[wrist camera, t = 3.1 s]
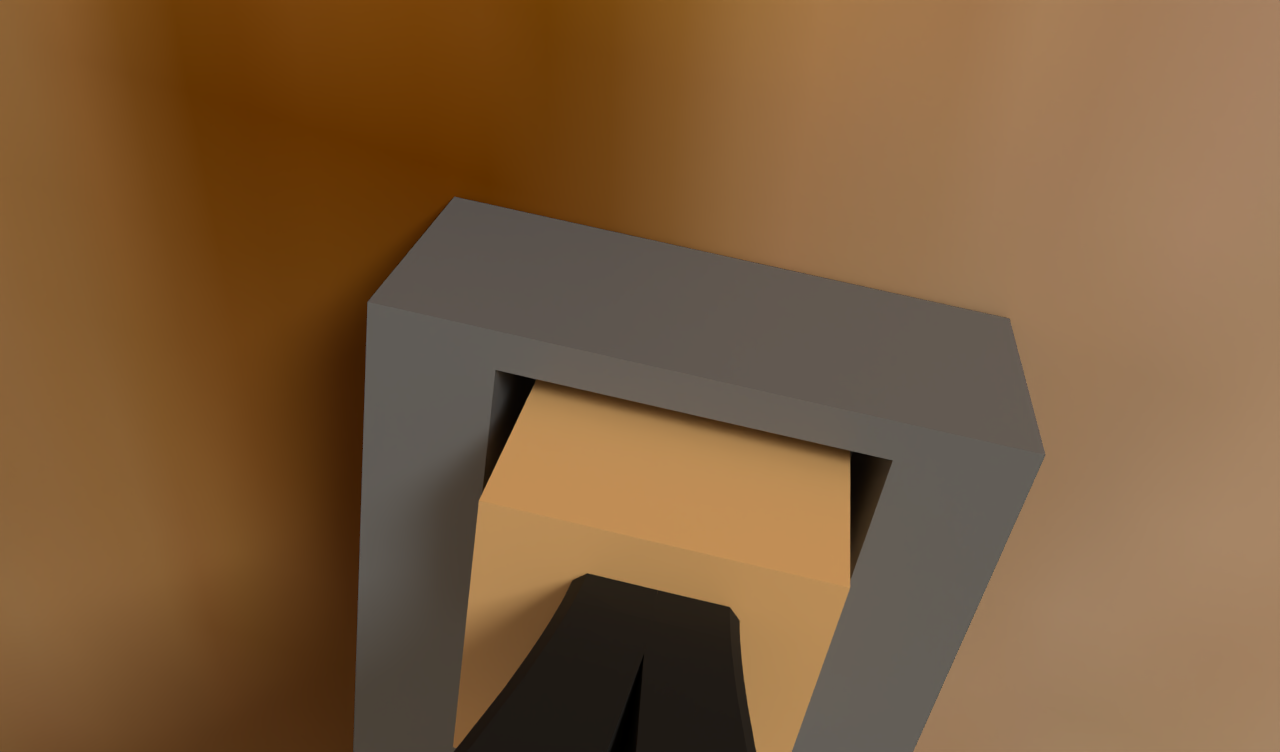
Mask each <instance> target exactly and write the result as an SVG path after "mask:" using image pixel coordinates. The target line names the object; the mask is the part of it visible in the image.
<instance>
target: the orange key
mask: <svg viewBox="0 0 1280 752" xmlns="http://www.w3.org/2000/svg"><path fill="white" fill-rule="evenodd" d="M587 573H589V574H593V575H597V576H601V577H605V578H610V579H614V580H618V581H622V582H626V583H631V584H635V585H639V586H643V587H647V588H652V589H656V590H660V591H664V592H668V593H673V594H677V595H681V596H685V597H690V598H694V599H698V600H703V601H707V602H711V603H715V604H720V605H724V606H728V607H730V608H731V609H732V611H733V612H734V613H735V615H736V616H737V617H738V619H739V620H740V644H741V656H742V666H743V675H744V683H745V689H746V696H747V703H748V709H749V715H750V720H751V726H752V731H753V737H754V742H755V748H756V752H792V750H793V747H794V744H795V741H796V738H797V736H798V733H799V730H800V727H801V724H802V722H803V719H804V716H805V713H806V710H807V708H808V705H809V702H810V699H811V696H812V694H813V691H814V688H815V685H816V682H817V680H818V677H819V674H820V671H821V668H822V666H823V663H824V660H825V657H826V654H827V652H828V649H829V646H830V643H831V640H832V637H833V635H834V632H835V629H836V626H837V623H838V621H839V618H840V615H841V612H842V609H843V607H844V604H845V601H846V598H847V595H848V593H849V590H850V451H849V450H845V449H840V448H836V447H832V446H827V445H823V444H818V443H814V442H810V441H805V440H801V439H796V438H792V437H788V436H783V435H779V434H774V433H770V432H766V431H761V430H757V429H753V428H748V427H744V426H739V425H735V424H731V423H726V422H722V421H717V420H713V419H709V418H704V417H700V416H696V415H691V414H687V413H682V412H678V411H674V410H669V409H665V408H660V407H656V406H652V405H647V404H643V403H639V402H634V401H630V400H625V399H621V398H617V397H612V396H608V395H603V394H599V393H595V392H590V391H586V390H581V389H577V388H573V387H568V386H564V385H560V384H555V383H551V382H546V381H542V380H538V379H536V381H535V384H534V386H533V388H532V390H531V392H530V394H529V396H528V398H527V400H526V402H525V405H524V407H523V409H522V411H521V413H520V415H519V417H518V419H517V421H516V424H515V426H514V428H513V430H512V432H511V434H510V436H509V438H508V440H507V443H506V445H505V447H504V449H503V451H502V453H501V455H500V457H499V459H498V461H497V464H496V466H495V468H494V470H493V472H492V474H491V476H490V478H489V480H488V483H487V485H486V487H485V489H484V491H483V493H482V495H481V497H480V499H479V504H478V514H477V523H476V533H475V542H474V552H473V561H472V571H471V580H470V590H469V599H468V609H467V618H466V628H465V637H464V647H463V656H462V666H461V675H460V685H459V694H458V704H457V713H456V723H455V732H454V742H453V747H454V748H457V747H458V746H459V744H460V743H461V742H462V741H463V739H464V738H465V737H466V735H467V734H468V733H469V732H470V730H471V729H472V728H473V727H474V725H475V724H476V723H477V722H478V720H479V719H480V718H481V716H482V715H483V714H484V713H485V711H486V710H487V709H488V708H489V706H490V705H491V704H492V703H493V701H494V700H495V699H496V698H497V696H498V695H499V694H500V692H501V691H502V690H503V689H504V687H505V686H506V685H507V683H508V682H509V680H510V679H511V678H512V676H513V675H514V673H515V672H516V671H517V669H518V668H519V666H520V665H521V664H522V662H523V661H524V659H525V658H526V657H527V655H528V654H529V652H530V651H531V649H532V648H533V646H534V645H535V644H536V642H537V641H538V639H539V638H540V636H541V635H542V633H543V631H544V630H545V628H546V627H547V625H548V624H549V622H550V620H551V619H552V617H553V615H554V614H555V612H556V610H557V609H558V607H559V605H560V604H561V602H562V600H563V598H564V596H565V594H566V592H567V590H568V588H569V586H570V584H571V582H572V580H574V579H576V578H578V577H580V576H583V575H585V574H587Z"/></svg>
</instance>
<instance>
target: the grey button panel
mask: <svg viewBox="0 0 1280 752" xmlns="http://www.w3.org/2000/svg"><path fill="white" fill-rule="evenodd" d="M536 379H538V380H542V381H546V382H551V383H555V384H560V385H564V386H568V387H573V388H577V389H581V390H586V391H590V392H595V393H599V394H603V395H608V396H612V397H617V398H621V399H625V400H630V401H634V402H639V403H643V404H647V405H652V406H656V407H660V408H665V409H669V410H674V411H678V412H682V413H687V414H691V415H696V416H700V417H704V418H709V419H713V420H717V421H722V422H726V423H731V424H735V425H739V426H744V427H748V428H753V429H757V430H761V431H766V432H770V433H774V434H779V435H783V436H788V437H792V438H796V439H801V440H805V441H810V442H814V443H818V444H823V445H827V446H832V447H836V448H840V449H845V450H849V451H850V590H849V593H848V595H847V598H846V601H845V604H844V607H843V609H842V612H841V615H840V618H839V621H838V623H837V626H836V629H835V632H834V635H833V637H832V640H831V643H830V646H829V649H828V652H827V654H826V657H825V660H824V663H823V666H822V668H821V671H820V674H819V677H818V680H817V682H816V685H815V688H814V691H813V694H812V696H811V699H810V702H809V705H808V708H807V710H806V713H805V716H804V719H803V722H802V724H801V727H800V730H799V733H798V736H797V738H796V741H795V744H794V747H793V750H792V752H913V751H914V748H915V746H916V744H917V742H918V739H919V737H920V735H921V733H922V730H923V728H924V726H925V724H926V721H927V719H928V717H929V715H930V712H931V710H932V708H933V706H934V704H935V701H936V699H937V697H938V695H939V692H940V690H941V688H942V686H943V683H944V681H945V679H946V677H947V674H948V672H949V670H950V668H951V665H952V663H953V661H954V659H955V656H956V654H957V652H958V650H959V647H960V645H961V643H962V641H963V639H964V636H965V634H966V632H967V630H968V627H969V625H970V623H971V621H972V618H973V616H974V614H975V612H976V609H977V607H978V605H979V603H980V600H981V598H982V596H983V594H984V591H985V589H986V587H987V585H988V582H989V580H990V578H991V576H992V574H993V571H994V569H995V567H996V565H997V562H998V560H999V558H1000V556H1001V553H1002V551H1003V549H1004V547H1005V544H1006V542H1007V540H1008V538H1009V535H1010V533H1011V531H1012V529H1013V526H1014V524H1015V522H1016V520H1017V517H1018V515H1019V513H1020V511H1021V509H1022V506H1023V504H1024V502H1025V500H1026V497H1027V495H1028V493H1029V491H1030V488H1031V486H1032V484H1033V482H1034V479H1035V477H1036V475H1037V473H1038V470H1039V468H1040V466H1041V464H1042V461H1043V459H1044V457H1045V452H1044V448H1043V444H1042V440H1041V436H1040V433H1039V429H1038V425H1037V421H1036V417H1035V414H1034V410H1033V406H1032V402H1031V398H1030V395H1029V391H1028V387H1027V383H1026V379H1025V376H1024V372H1023V368H1022V364H1021V361H1020V357H1019V353H1018V349H1017V345H1016V342H1015V338H1014V334H1013V330H1012V326H1011V323H1010V319H1009V318H1004V317H1000V316H995V315H990V314H986V313H981V312H977V311H972V310H968V309H963V308H959V307H954V306H949V305H945V304H940V303H936V302H931V301H927V300H922V299H918V298H913V297H908V296H904V295H899V294H895V293H890V292H886V291H881V290H877V289H872V288H867V287H863V286H858V285H854V284H849V283H845V282H840V281H836V280H831V279H826V278H822V277H817V276H813V275H808V274H804V273H799V272H795V271H790V270H785V269H781V268H776V267H772V266H767V265H763V264H758V263H754V262H749V261H744V260H740V259H735V258H731V257H726V256H722V255H717V254H713V253H708V252H703V251H699V250H694V249H690V248H685V247H681V246H676V245H672V244H667V243H662V242H658V241H653V240H649V239H644V238H640V237H635V236H631V235H626V234H621V233H617V232H612V231H608V230H603V229H599V228H594V227H590V226H585V225H580V224H576V223H571V222H567V221H562V220H558V219H553V218H549V217H544V216H540V215H535V214H530V213H526V212H521V211H517V210H512V209H508V208H503V207H499V206H494V205H489V204H485V203H480V202H476V201H471V200H467V199H462V198H458V197H454V198H453V199H452V200H451V201H450V203H449V204H448V205H447V206H446V207H445V209H444V210H443V211H442V212H441V214H440V215H439V216H438V217H437V218H436V220H435V221H434V222H433V223H432V224H431V226H430V227H429V228H428V229H427V230H426V232H425V233H424V234H423V235H422V237H421V238H420V239H419V240H418V241H417V243H416V244H415V245H414V246H413V247H412V249H411V250H410V251H409V252H408V253H407V255H406V256H405V257H404V258H403V260H402V261H401V262H400V263H399V264H398V266H397V267H396V268H395V269H394V270H393V272H392V273H391V274H390V275H389V276H388V278H387V279H386V280H385V281H384V283H383V284H382V285H381V286H380V287H379V289H378V290H377V291H376V292H375V293H374V295H373V296H372V297H371V298H370V299H369V301H368V304H367V335H366V366H365V398H364V429H363V461H362V492H361V524H360V555H359V586H358V618H357V649H356V681H355V712H354V743H353V752H454V751H455V749H456V748H454V747H453V742H454V732H455V723H456V713H457V704H458V694H459V685H460V675H461V666H462V656H463V647H464V637H465V628H466V618H467V609H468V599H469V590H470V580H471V571H472V561H473V552H474V542H475V533H476V523H477V514H478V504H479V499H480V497H481V495H482V493H483V491H484V489H485V487H486V485H487V483H488V480H489V478H490V476H491V474H492V472H493V470H494V468H495V466H496V464H497V461H498V459H499V457H500V455H501V453H502V451H503V449H504V447H505V445H506V443H507V440H508V438H509V436H510V434H511V432H512V430H513V428H514V426H515V424H516V421H517V419H518V417H519V415H520V413H521V411H522V409H523V407H524V405H525V402H526V400H527V398H528V396H529V394H530V392H531V390H532V388H533V386H534V384H535V381H536Z"/></svg>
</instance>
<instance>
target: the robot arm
mask: <svg viewBox="0 0 1280 752" xmlns="http://www.w3.org/2000/svg"><path fill="white" fill-rule="evenodd" d="M454 752H756V748H755V742H754V737H753V731H752V726H751V720H750V715H749V709H748V703H747V696H746V689H745V683H744V675H743V666H742V656H741V644H740V620H739V619H738V617H737V616H736V615H735V613H734V612H733V611H732V609H731V608H730V607H728V606H724V605H720V604H715V603H711V602H707V601H703V600H698V599H694V598H690V597H685V596H681V595H677V594H673V593H668V592H664V591H660V590H656V589H652V588H647V587H643V586H639V585H635V584H631V583H626V582H622V581H618V580H614V579H610V578H605V577H601V576H597V575H593V574H589V573H587V574H585V575H583V576H580V577H578V578H576V579H574V580H572V582H571V584H570V586H569V588H568V590H567V592H566V594H565V596H564V598H563V600H562V602H561V604H560V605H559V607H558V609H557V610H556V612H555V614H554V615H553V617H552V619H551V620H550V622H549V624H548V625H547V627H546V628H545V630H544V631H543V633H542V635H541V636H540V638H539V639H538V641H537V642H536V644H535V645H534V646H533V648H532V649H531V651H530V652H529V654H528V655H527V657H526V658H525V659H524V661H523V662H522V664H521V665H520V666H519V668H518V669H517V671H516V672H515V673H514V675H513V676H512V678H511V679H510V680H509V682H508V683H507V685H506V686H505V687H504V689H503V690H502V691H501V692H500V694H499V695H498V696H497V698H496V699H495V700H494V701H493V703H492V704H491V705H490V706H489V708H488V709H487V710H486V711H485V713H484V714H483V715H482V716H481V718H480V719H479V720H478V722H477V723H476V724H475V725H474V727H473V728H472V729H471V730H470V732H469V733H468V734H467V735H466V737H465V738H464V739H463V741H462V742H461V743H460V744H459V746H458V747H457V748H456V749H455V751H454Z"/></svg>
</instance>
